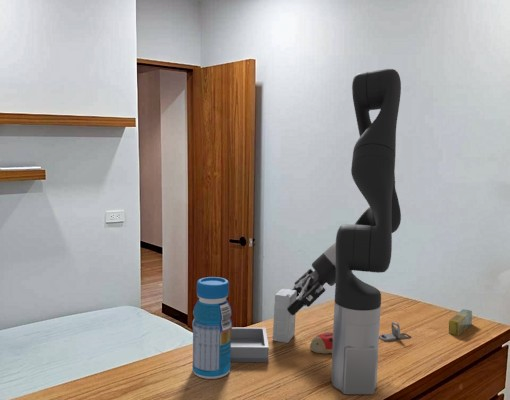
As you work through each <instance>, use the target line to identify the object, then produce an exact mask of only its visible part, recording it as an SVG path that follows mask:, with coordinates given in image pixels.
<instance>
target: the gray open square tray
mask: <svg viewBox="0 0 510 400" xmlns="http://www.w3.org/2000/svg"><path fill="white" fill-rule="evenodd" d="M269 349H270V346H269V341H268V334H267V329H266V327H248V326H246V327H244V326H243V327H239V326H238V327H234V326H232V328H231V353H230V363H269V355H270V354H269V353H270V351H269Z"/></svg>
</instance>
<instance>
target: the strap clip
mask: <svg viewBox="0 0 510 400" xmlns="http://www.w3.org/2000/svg"><path fill="white" fill-rule="evenodd" d="M394 325H395V326H394ZM400 327H401V326H400V324H399V323H398V322H395V321H392V322H391V333H383V334H379V340H381V341H383V342H392V341H397V339H398V340H407V339H411V338H412V336H411V335H409V334H408V333H404V332H402V333H401V328H400Z"/></svg>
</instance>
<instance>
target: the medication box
mask: <svg viewBox="0 0 510 400" xmlns="http://www.w3.org/2000/svg"><path fill="white" fill-rule="evenodd" d="M472 321H473V312H472V310H470V309H465V308H464V309H461V310H460V311H459V312H457V314H455V315H454V316H453V317H451V319H449V320H448V334H450V335H454V336H458V337H459V336H461V334H463V333H464V332H465V331H466V330H467V329H468V328H469V327H470V326H471V325H472V324H473V323H472Z"/></svg>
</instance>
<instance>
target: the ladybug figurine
mask: <svg viewBox="0 0 510 400" xmlns="http://www.w3.org/2000/svg"><path fill="white" fill-rule="evenodd" d="M332 347H333V331H332V332H325V333H324V332H323V333H320V334H318V335H316V336H314V337H313V339H312V340H311V342H310V344H309V349H310V350H311V351H312V352H314V353H317V354H320V353H322V355H323V354H325V355H326V354H327V355H328V354H329V353H330V354H332ZM330 354H329V355H330Z"/></svg>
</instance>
